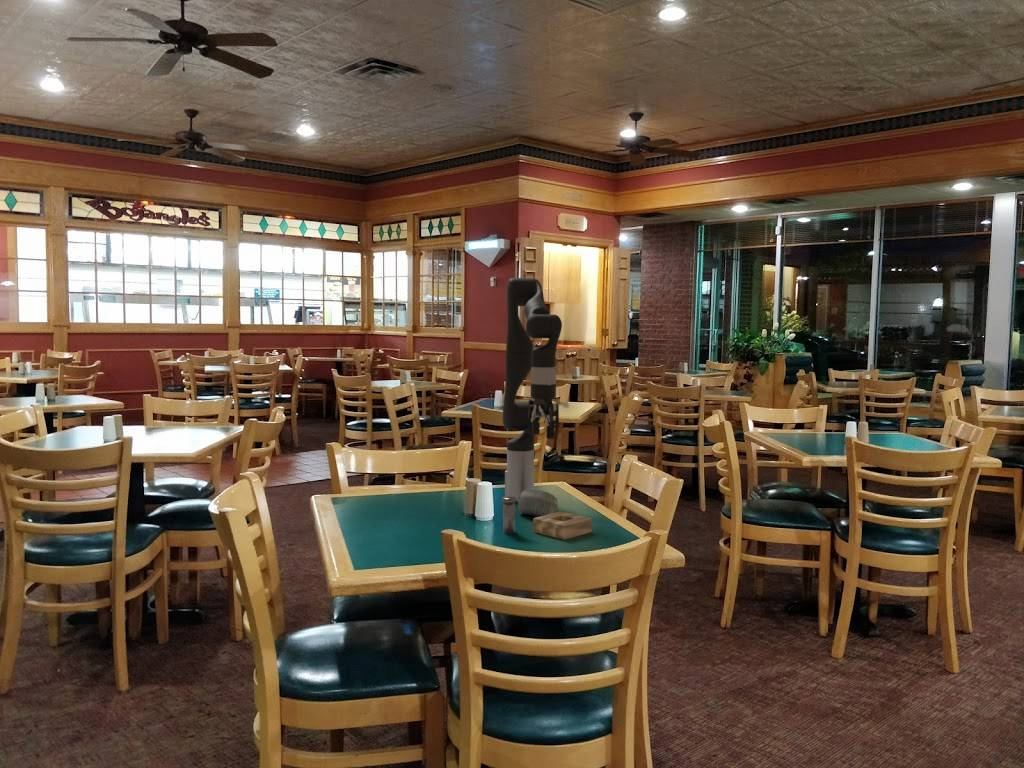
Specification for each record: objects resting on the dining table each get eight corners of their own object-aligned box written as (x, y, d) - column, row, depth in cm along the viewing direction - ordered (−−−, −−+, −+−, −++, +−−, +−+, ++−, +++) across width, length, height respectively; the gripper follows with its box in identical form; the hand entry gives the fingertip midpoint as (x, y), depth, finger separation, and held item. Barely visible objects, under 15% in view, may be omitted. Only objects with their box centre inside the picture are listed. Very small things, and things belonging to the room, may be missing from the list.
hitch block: (533, 531, 239) (533, 518, 238) (560, 524, 247) (560, 511, 247) (564, 539, 230) (564, 525, 230) (591, 531, 239) (591, 518, 239)
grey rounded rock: (506, 504, 258) (522, 477, 259) (524, 513, 265) (539, 486, 266) (535, 523, 249) (551, 494, 250) (552, 531, 256) (568, 503, 256)
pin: (498, 531, 239) (498, 498, 238) (508, 529, 242) (509, 495, 241) (509, 534, 236) (509, 500, 235) (519, 531, 239) (519, 498, 238)
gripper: (520, 380, 247) (520, 434, 248) (544, 384, 234) (543, 440, 236) (542, 380, 250) (542, 432, 252) (566, 383, 238) (566, 439, 239)
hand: (542, 436), depth 244 cm, fingers open, 8 cm apart
